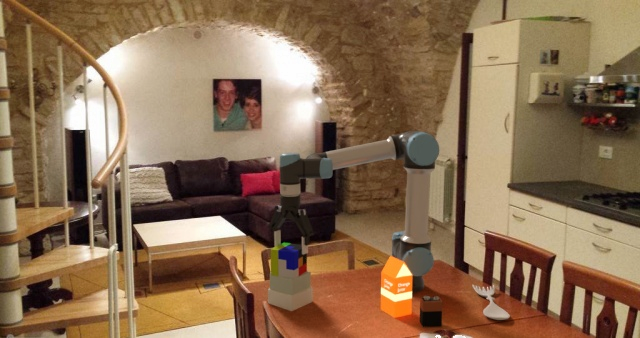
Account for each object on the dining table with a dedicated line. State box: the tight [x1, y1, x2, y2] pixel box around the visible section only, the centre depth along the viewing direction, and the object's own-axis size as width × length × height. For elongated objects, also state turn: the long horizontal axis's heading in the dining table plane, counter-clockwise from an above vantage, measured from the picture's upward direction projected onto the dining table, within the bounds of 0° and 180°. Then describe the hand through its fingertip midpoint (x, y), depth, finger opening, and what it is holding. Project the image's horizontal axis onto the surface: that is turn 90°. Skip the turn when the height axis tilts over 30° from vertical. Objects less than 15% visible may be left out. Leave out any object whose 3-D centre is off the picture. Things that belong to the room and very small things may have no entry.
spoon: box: [472, 284, 511, 321], centre depth 203 cm, size 9×32×4 cm, turn 173°
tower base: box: [267, 286, 314, 312], centre depth 206 cm, size 12×12×6 cm
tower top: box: [269, 270, 312, 295], centre depth 206 cm, size 11×11×6 cm
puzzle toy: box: [270, 242, 308, 279], centre depth 204 cm, size 10×10×10 cm
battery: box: [419, 295, 443, 328], centre depth 186 cm, size 4×7×10 cm, turn 94°
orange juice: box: [380, 255, 413, 319], centre depth 197 cm, size 8×9×20 cm
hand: (291, 250), depth 204 cm, fingers open, 13 cm apart
